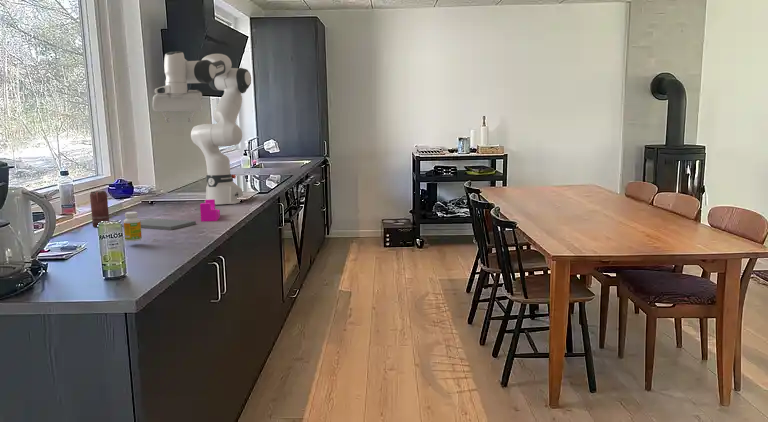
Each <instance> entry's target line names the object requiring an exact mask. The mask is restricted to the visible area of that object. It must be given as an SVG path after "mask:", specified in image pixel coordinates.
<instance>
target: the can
mask: <svg viewBox="0 0 768 422" xmlns="http://www.w3.org/2000/svg"><path fill="white" fill-rule="evenodd" d="M89 200H90V210H91V222H92V226H93V228H98V227H97V225H98V223H99V222H101V221H109V222H110V214H109V202H108V201H109V200H108V193H107V192H106V191H105V190H98V191H90V194H89Z"/></svg>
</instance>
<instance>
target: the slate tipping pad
mask: <svg viewBox="0 0 768 422" xmlns="http://www.w3.org/2000/svg"><path fill="white" fill-rule="evenodd" d="M140 222H141V229H150V230H151V229H152V230H166V231H167V230H168V231H173V230H176V229H181V228H185V227H188V226H189V227H190V226H193V225H196V224H197V221H196V220H183V219H181V220H179V219H169V218H168V219H167V218H153V217H149V218H145V219H140Z"/></svg>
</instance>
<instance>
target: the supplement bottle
mask: <svg viewBox="0 0 768 422" xmlns="http://www.w3.org/2000/svg"><path fill="white" fill-rule="evenodd" d="M138 216H139V215H138V212H137V211H127V212H125V213H124V217H125V219H123V230H124V241H125V242H138V241H141V240H143V239H142V237H143V235H142V228H141V222H140V220H141V219H140V218H139V217H138Z"/></svg>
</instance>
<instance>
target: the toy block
mask: <svg viewBox="0 0 768 422" xmlns="http://www.w3.org/2000/svg"><path fill="white" fill-rule="evenodd" d="M199 209H200V210H199V211H200V222H218V220H220V218H221V212H220V210H221V209H217V208H216V204H215V199H211V200H206V199H205V200H204V202H201V203H200V204H199Z"/></svg>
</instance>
